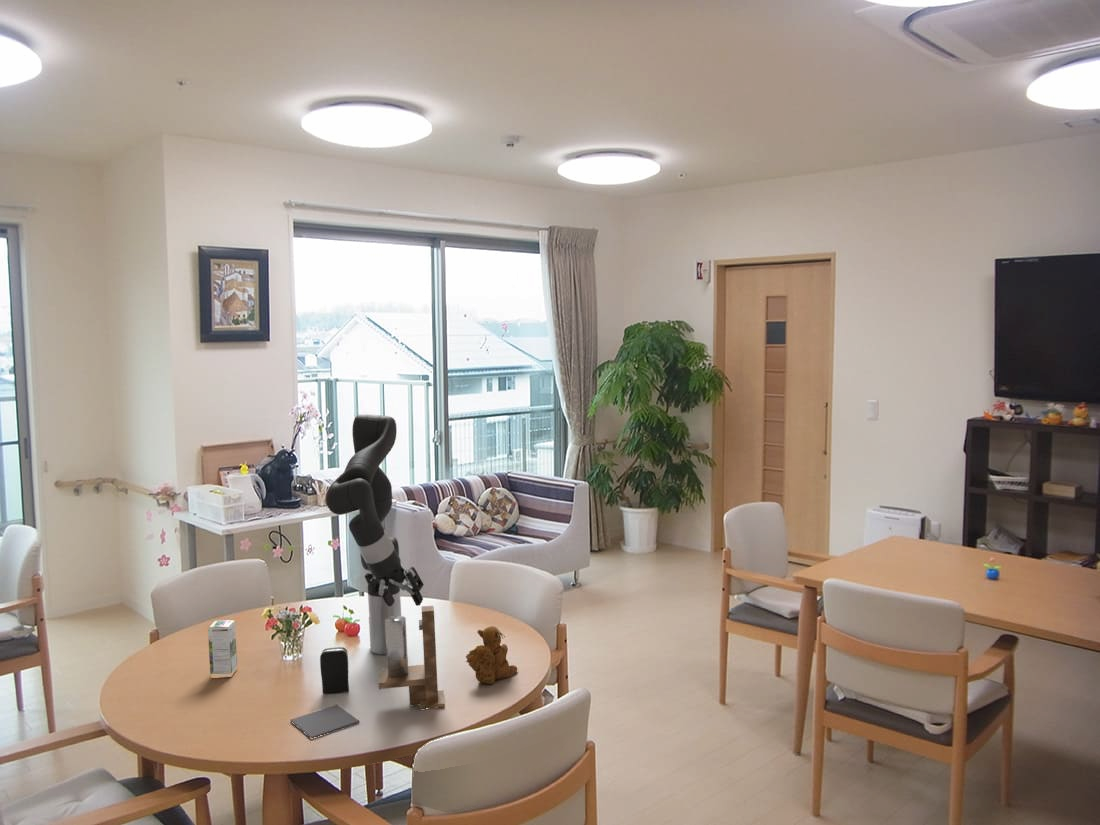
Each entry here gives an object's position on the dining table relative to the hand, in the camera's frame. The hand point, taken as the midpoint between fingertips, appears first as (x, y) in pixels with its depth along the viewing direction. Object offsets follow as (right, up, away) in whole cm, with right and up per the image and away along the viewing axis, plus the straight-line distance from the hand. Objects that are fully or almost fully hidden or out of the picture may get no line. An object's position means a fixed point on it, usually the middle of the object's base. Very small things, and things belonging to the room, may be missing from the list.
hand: (405, 603), depth 209 cm
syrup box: (-54, -25, +25) cm, 65 cm away
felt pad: (-18, -27, -7) cm, 33 cm away
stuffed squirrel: (+20, -24, +17) cm, 35 cm away
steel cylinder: (-2, -18, +1) cm, 18 cm away
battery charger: (-20, -25, +11) cm, 34 cm away
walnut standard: (+1, -25, +2) cm, 26 cm away
